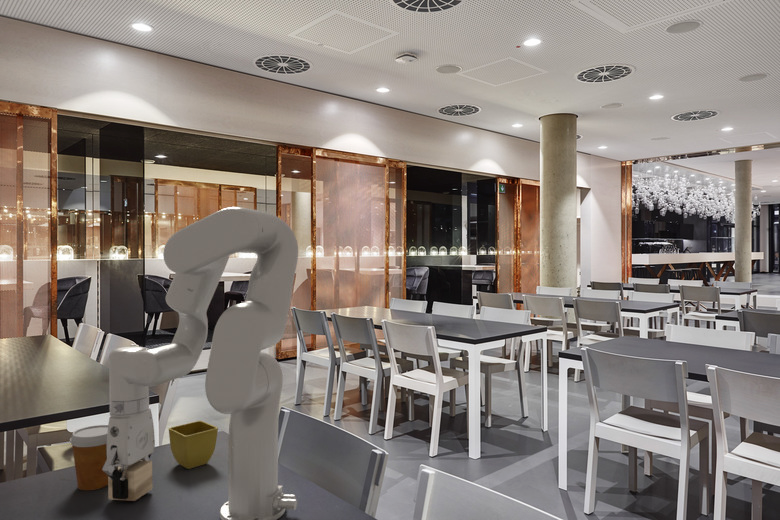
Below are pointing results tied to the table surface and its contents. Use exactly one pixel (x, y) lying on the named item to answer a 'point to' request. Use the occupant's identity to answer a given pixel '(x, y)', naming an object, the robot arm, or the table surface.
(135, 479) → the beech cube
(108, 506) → the table surface
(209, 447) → the flower pot
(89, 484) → the disposable coffee cup
